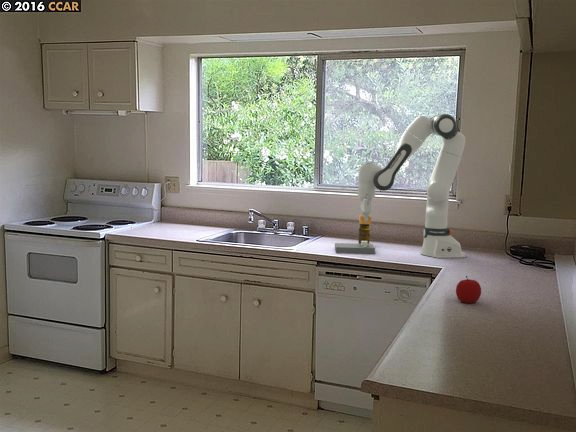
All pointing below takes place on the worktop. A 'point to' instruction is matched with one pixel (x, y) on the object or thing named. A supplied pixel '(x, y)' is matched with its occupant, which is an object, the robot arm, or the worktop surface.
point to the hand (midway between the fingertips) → (365, 220)
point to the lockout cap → (361, 219)
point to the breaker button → (364, 243)
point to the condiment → (364, 233)
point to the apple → (468, 291)
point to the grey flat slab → (354, 248)
